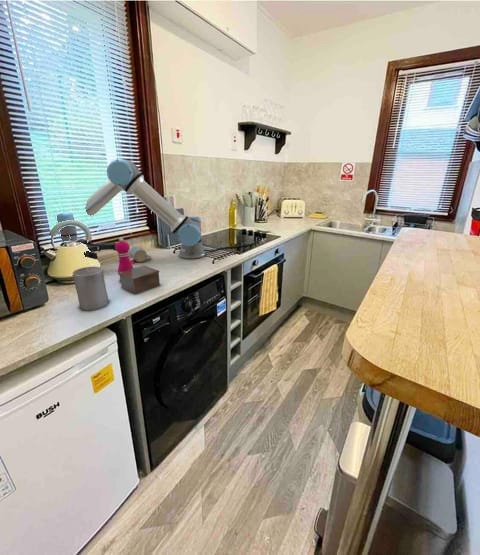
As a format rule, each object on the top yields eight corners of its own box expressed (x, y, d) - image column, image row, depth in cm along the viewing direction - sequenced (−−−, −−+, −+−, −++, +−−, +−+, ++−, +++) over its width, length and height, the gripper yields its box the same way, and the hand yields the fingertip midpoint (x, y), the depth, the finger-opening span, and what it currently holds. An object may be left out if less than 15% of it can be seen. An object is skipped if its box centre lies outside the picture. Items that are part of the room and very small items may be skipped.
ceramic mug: (135, 263, 148) (134, 250, 145) (129, 260, 154) (127, 247, 151) (153, 260, 155) (152, 247, 152) (147, 257, 161) (146, 244, 158)
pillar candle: (87, 299, 108) (79, 263, 102) (112, 298, 108) (106, 262, 103) (75, 311, 99) (65, 272, 93) (102, 310, 99) (95, 271, 94)
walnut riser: (146, 279, 128) (144, 265, 125) (160, 285, 121) (159, 270, 119) (121, 287, 119) (118, 272, 116) (135, 294, 112) (133, 278, 110)
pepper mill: (115, 282, 124) (108, 239, 117) (126, 276, 131) (120, 235, 123) (128, 284, 122) (121, 240, 115) (139, 278, 128) (133, 236, 121)
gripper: (105, 248, 147) (132, 253, 138) (57, 260, 127) (86, 268, 117) (103, 234, 144) (130, 239, 135) (54, 244, 124) (82, 251, 115)
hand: (110, 252), depth 126 cm, fingers open, 13 cm apart
